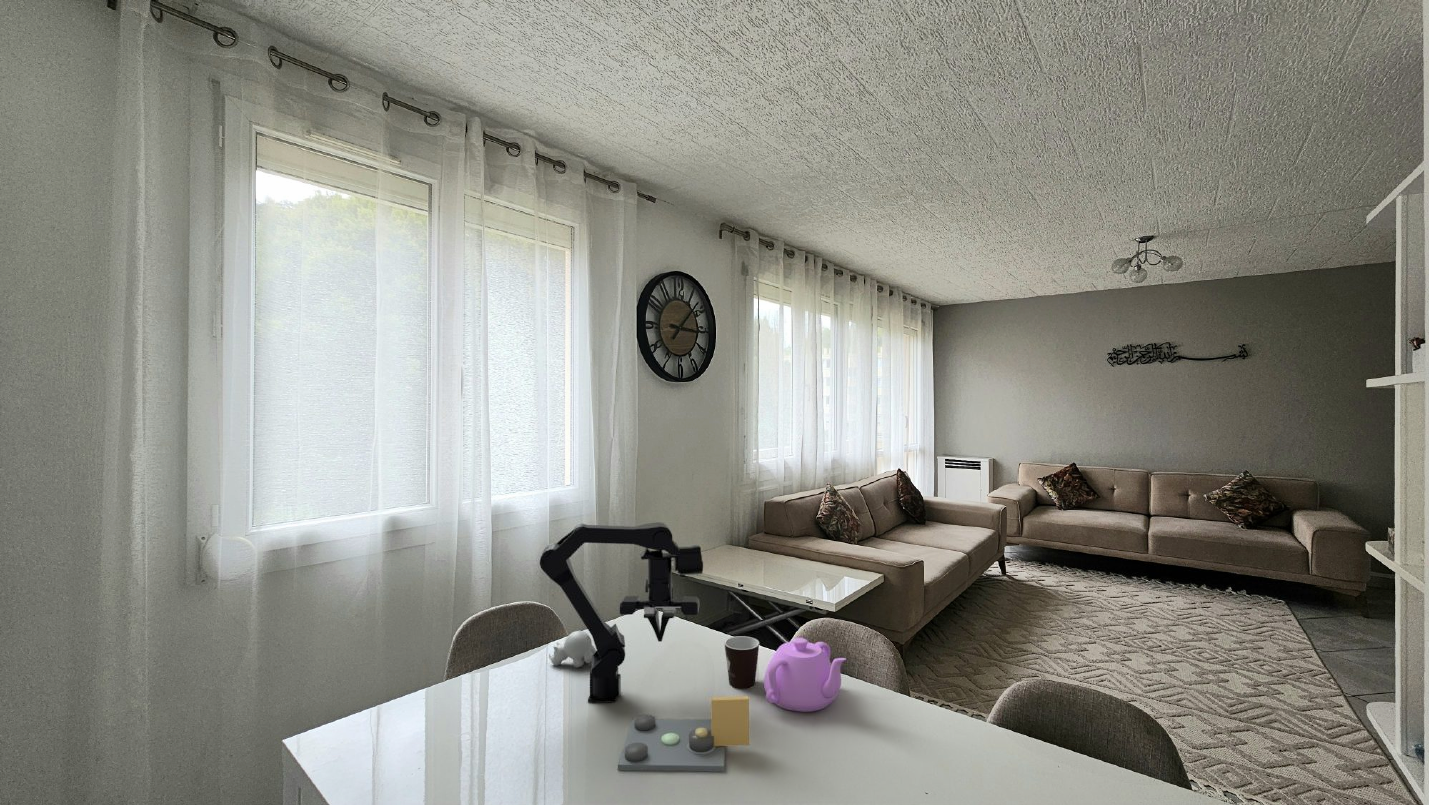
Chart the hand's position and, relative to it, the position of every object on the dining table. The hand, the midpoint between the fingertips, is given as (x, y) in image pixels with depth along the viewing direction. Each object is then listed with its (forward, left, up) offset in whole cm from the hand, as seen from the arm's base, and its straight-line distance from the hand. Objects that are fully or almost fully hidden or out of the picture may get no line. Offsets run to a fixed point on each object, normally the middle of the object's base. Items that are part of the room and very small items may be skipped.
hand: (660, 641), depth 145 cm
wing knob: (+15, -25, -11) cm, 31 cm away
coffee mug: (+20, +6, -12) cm, 24 cm away
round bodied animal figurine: (-26, +15, -12) cm, 32 cm away
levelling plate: (+6, -24, -12) cm, 27 cm away
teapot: (+35, -5, -12) cm, 37 cm away
